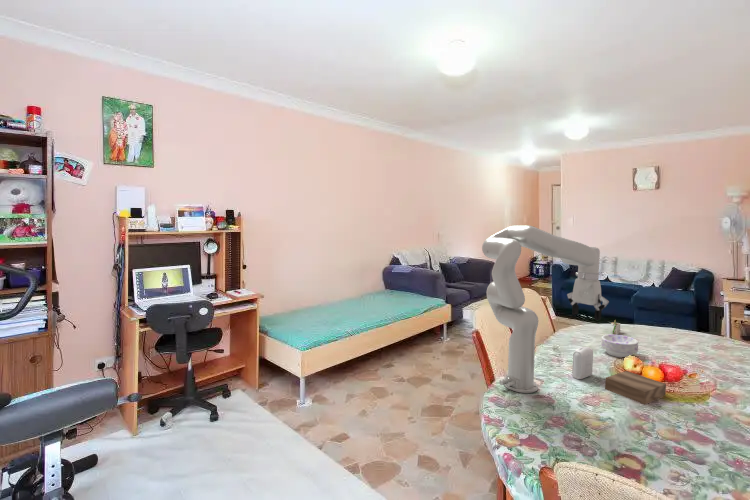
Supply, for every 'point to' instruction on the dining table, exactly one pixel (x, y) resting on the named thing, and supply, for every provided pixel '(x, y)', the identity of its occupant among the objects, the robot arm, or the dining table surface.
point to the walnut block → (635, 387)
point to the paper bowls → (619, 345)
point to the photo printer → (582, 362)
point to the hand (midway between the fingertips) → (586, 316)
